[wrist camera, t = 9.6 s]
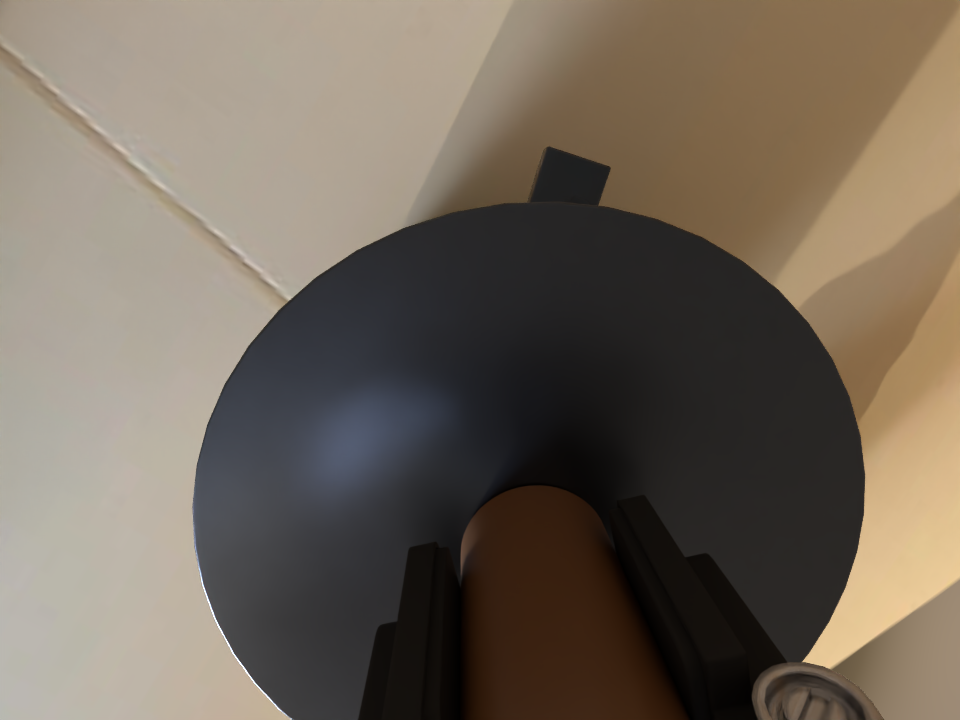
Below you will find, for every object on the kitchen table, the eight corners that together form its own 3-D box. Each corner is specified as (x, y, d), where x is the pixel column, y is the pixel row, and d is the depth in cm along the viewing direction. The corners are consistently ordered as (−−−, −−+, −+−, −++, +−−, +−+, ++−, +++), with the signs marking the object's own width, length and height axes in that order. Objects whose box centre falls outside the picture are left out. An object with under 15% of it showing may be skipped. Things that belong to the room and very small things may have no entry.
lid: (173, 691, 14) (-115, 1171, 7) (285, 104, 10) (-80, -116, 3) (689, 795, 15) (873, 1270, 9) (942, 316, 12) (1620, 465, 5)
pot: (323, 476, 30) (273, 574, 22) (410, 128, 26) (387, 88, 17) (551, 532, 32) (583, 644, 23) (672, 213, 27) (765, 214, 19)
